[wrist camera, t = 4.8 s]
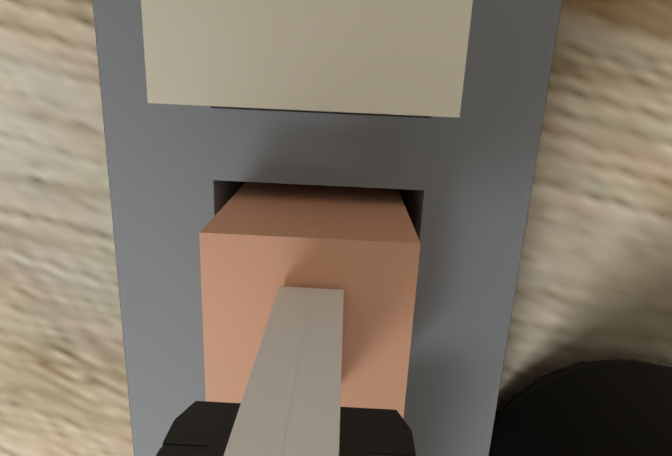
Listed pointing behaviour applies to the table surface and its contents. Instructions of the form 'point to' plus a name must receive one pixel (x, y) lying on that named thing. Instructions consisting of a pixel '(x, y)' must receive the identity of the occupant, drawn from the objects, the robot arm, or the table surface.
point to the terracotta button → (311, 282)
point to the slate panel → (332, 170)
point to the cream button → (308, 54)
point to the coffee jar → (590, 413)
